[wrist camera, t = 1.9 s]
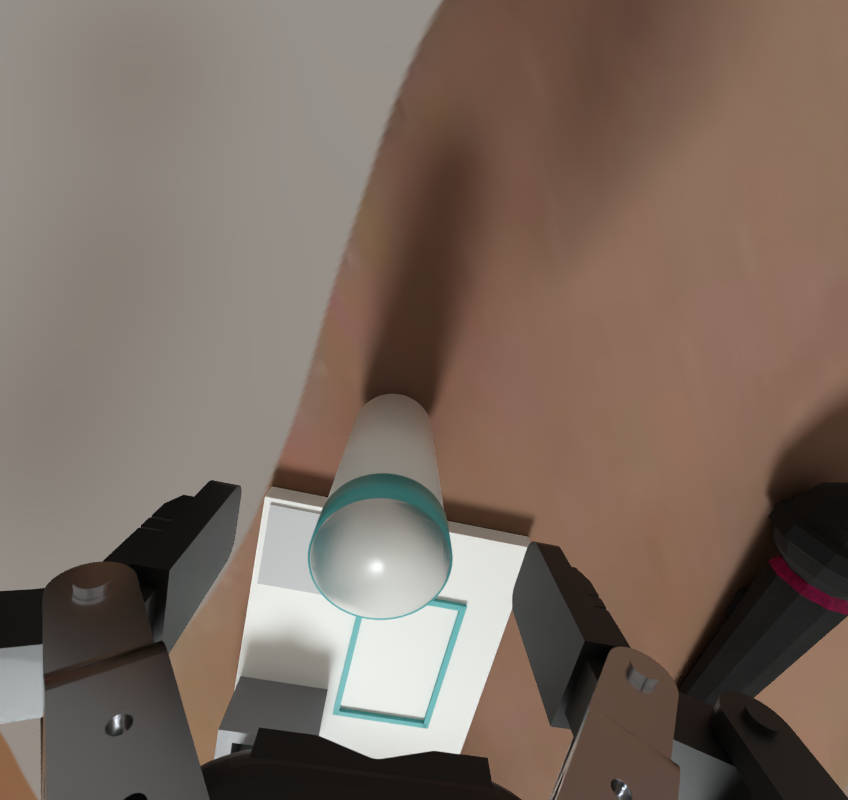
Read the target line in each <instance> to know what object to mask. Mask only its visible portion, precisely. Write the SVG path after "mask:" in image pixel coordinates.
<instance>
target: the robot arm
mask: <svg viewBox="0 0 848 800" xmlns="http://www.w3.org/2000/svg"><path fill="white" fill-rule="evenodd" d="M240 499H241V486H239V485H234V484H229V483H223V482H218V481H213V480H211V481H209V482H208V483H207V484H206V485H205V486H204V487H203V488H202V489H201V490H200V491H199V492H198V493H197V494H196V496H195V497H192V496H187V495H182V496H180V497H178V498H176V499H173V500H171V501H169V502H167V503H164V504H163V505H162V506H161V507H160V508H159V509H158V510H157V511H156V512H155V513H154V514H153V515H152V517H151V518H149V519H147V520H146V521H145V522H144V523H143V524H142V525H141V528H138V529H137V530H136V531H135V532H134V533H133V534H131V535H130V536H129V537H128V538H127V539H126V540H125V541H124V542H123V543H122V544H121V545H120V546H119V547H118V548H116V549H115V550H114V551H113V552H112V553H111V554H110V555H109V556H108V557H107V558H106V559H105V560H104V561H103V562H93V563H88V564H83V565H79V566H76V567H73V568H71V569H69V570H66V571H64V572H63V573H61V574H59V575H58V576H56V577H55V578H53V579H52V580H51V581H50V582H49V583H48V584H47V586H46V587H45V588H42V589H32V590H15V591H0V724H2V723H8V722H14V721H21V720H28V719H34V718H40V729H41V730H40V734H41V735H40V736H41V737H40V739H41V800H521V799H520V798H519V797H517V796H516V795H514V794H513V793H512V792H510V791H509V790H507V789H505V788H503V787H502V786H500V785H498V784H496V783H494V782H492V781H491V775H490V769H489V763H488V758H484V757H476V756H469V755H461V754H454V753H446V752H439V751H429V752H423V753H416V754H410V755H403V756H397V757H390V758H384V759H373V758H370V757H368V756H365V755H363V754H361V753H358V752H356V751H354V750H351V749H349V748H346V747H344V746H342V745H339V744H337V743H335V742H332V741H330V740H328V739H325V738H323V737H321V736H318V735H312V734H305V733H297V732H290V731H282V730H275V729H267V728H260V727H259V729H258V732H257V735H256V738H255V742H254V745H253V748H252V749H251V750H245V751H239V752H236V753H232V754H228V755H225V756H222V757H219V758H217V759H214V760H212V761H209V762H207V763H205V764H203V765H202V766H200V764H199V760H198V756H197V753H196V749H195V746H194V742H193V739H192V735H191V732H190V728H189V725H188V721H187V718H186V714H185V711H184V707H183V704H182V700H181V697H180V693H179V689H178V686H177V682H176V679H175V675H174V672H173V668H172V665H171V661H170V658H169V653H170V651H171V649H172V648H173V646H174V645H175V643H176V641H177V640H178V638H179V637H180V635H181V634H182V632H183V630H184V629H185V627H186V626H187V624H188V622H189V621H190V619H191V618H192V616H193V614H194V613H195V611H196V610H197V608H198V606H199V605H200V603H201V602H202V600H203V598H204V597H205V595H206V594H207V592H208V591H209V589H210V587H211V586H212V584H213V583H214V581H215V579H216V578H217V576H218V575H219V573H220V572H221V570H222V568H223V567H224V565H225V564H226V562H227V560H228V558H229V556H230V553H231V551H232V547H233V544H234V540H235V534H236V527H237V520H238V513H239V505H240ZM512 608H513V612H514V616H515V619H516V622H517V625H518V628H519V631H520V634H521V637H522V640H523V643H524V646H525V649H526V652H527V656H528V659H529V662H530V665H531V668H532V671H533V674H534V677H535V680H536V683H537V686H538V689H539V692H540V695H541V698H542V702H543V705H544V708H545V711H546V714H547V717H548V720H549V723H550V726H552V727H559V728H566V729H571V731H572V734H573V739H572V742H571V744H570V747H569V749H568V752H567V754H566V757H565V759H564V762H563V765H562V767H561V770H560V773H559V775H558V778H557V780H556V783H555V786H554V788H553V791H552V794H551V796H550V799H549V800H848V798H847V796H846V795H845V794H844V793H843V791H842V790H841V789H840V788H839V786H838V785H837V784H836V783H835V781H834V780H833V779H832V778H831V777H830V775H829V774H828V773H827V772H826V770H825V769H824V768H823V767H822V765H821V764H820V763H819V762H818V761H817V759H816V758H815V757H814V756H813V754H812V753H811V752H810V751H809V749H808V748H807V747H806V746H805V745H804V743H803V742H802V741H801V740H800V738H799V737H798V736H797V735H796V733H795V732H794V731H793V730H792V729H791V727H790V726H789V725H788V724H787V723H786V722H785V721H784V720H783V719H782V718H781V717H780V716H779V715H777V714H776V713H775V712H774V711H773V710H771V709H770V708H769V707H767V706H766V705H764V704H763V703H761V702H760V701H758V700H756V699H754V698H752V697H750V696H748V695H746V694H743V693H741V692H737V691H731V690H729V691H724V692H722V693H721V694H720V696H719V698H718V700H717V702H716V704H715V706H712V705H709V704H707V703H704V702H702V701H700V700H697V699H695V698H692V697H690V696H688V695H685V694H683V693H680V692H678V688H677V686H676V684H675V682H674V680H673V679H672V677H671V676H670V675H669V673H668V672H667V671H666V670H665V669H664V668H663V667H662V666H661V665H660V664H659V663H657V662H656V661H655V660H653V659H652V658H650V657H649V656H647V655H646V654H644V653H642V652H640V651H637V650H635V649H632V648H631V647H630V646H629V644H628V643H627V641H626V639H625V638H624V636H623V634H622V633H621V631H620V629H619V628H618V626H617V625H616V623H615V621H614V620H613V618H612V616H611V615H610V613H609V612H608V611H606V607H605V605H604V603H603V602H602V600H601V599H600V598H599V595H598V594H597V592H596V590H595V589H594V587H593V585H592V584H591V582H590V581H589V580H588V579H587V578H586V577H585V576H584V575H583V574H582V573H581V572H580V571H578V570H577V569H576V568H574V567H571V566H570V564H569V562H568V560H567V559H566V557H565V555H564V553H563V552H562V550H561V548H560V547H559V546H555V545H549V544H544V543H539V542H531V543H530V544H529V545H528V547H527V550H526V553H525V556H524V559H523V562H522V565H521V568H520V571H519V573H518V576H517V579H516V582H515V585H514V589H513V594H512Z"/></svg>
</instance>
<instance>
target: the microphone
mask: <svg viewBox="0 0 848 800" xmlns="http://www.w3.org/2000/svg"><path fill="white" fill-rule="evenodd" d="M769 518H770V520H771V521H772V522H773V523H774V525H775V526H774V541H775V543H776V545H777V547H778V549H779V552H780V554H781V555H780V556H774V557H772V558H771V559H770V560H769V561H768V562H767V563H766V565H765V566H764V568H763V569H762V571H761V572H760V573H759V575H758V576H757V578H756V579H755V581H754V582H753V583H752V585H751V586H750V588H749V589H743V590H740V591H739V592H738V594H737V595H736V597H735V598H734V599H733V601H732V602H731V604H730V605H729V607H728V610H727V612H728V613H729V614H730V616H729V618H728V619H727V621H726V622H725V623H724V625H723V626H722V628H721V629H720V630H719V632H718V633H717V635H716V636H715V638H714V639H713V640H712V642H711V643H710V645H709V646H708V648H707V649H706V650H705V652H704V653H703V655H702V656H701V658H700V659H699V660H698V662H697V663H696V665H695V666H694V668H693V669H692V670H691V672H690V673H689V675H688V676H687V678H686V679H685V680H684V682H683V683H682V685H681V686H680V687H679V689H678V692H680V693H683V694H685V695H688V696H690V697H692V698H695V699H697V700H700V701H702V702H704V703H707V704H709V705H712V706H715V704H716V702H717V700H718V698H719V696H720V694H721V693H722V692H724V691H729V690H731V691H737V692H741V693H743V694H746V695H748V696H750V697H752V698H754V697H755V696H756V695H757V694H759V693H760V692H761V691H762V690H763V689H764V688H765V687H767V686H768V685H769V684H770V683H771V682H772V681H774V680H775V679H776V678H777V677H778V676H779V675H780V674H782V673H783V672H784V671H785V670H786V669H787V668H788V667H790V666H791V665H792V664H793V663H794V662H795V661H796V660H798V659H799V658H800V657H801V656H802V655H803V654H805V653H806V652H807V651H808V650H809V649H810V648H811V647H813V646H814V645H815V644H816V643H817V642H818V641H819V640H821V639H822V638H823V637H824V636H825V635H826V634H827V633H829V632H830V631H831V630H832V629H833V628H834V627H836V626H837V625H838V624H839V623H840V622H841V621H842V620H844V619H845V618H846V617H847V616H848V483H821V484H819V485H817V486H815V487H813V488H811V489H809V490H807V491H806V492H804V493H802V494H801V495H799V496H798V497H797V498H795V499H794V500H791V499H785V500H783V501H781V502H780V503H778V504H777V505H776V506H775V508H774V509H773V511H772V512H771V514H770V515H769ZM737 604H738V605H737ZM736 605H737V606H736ZM735 607H736V608H735Z"/></svg>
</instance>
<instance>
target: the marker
mask: <svg viewBox="0 0 848 800" xmlns="http://www.w3.org/2000/svg"><path fill="white" fill-rule="evenodd" d="M452 561H453V556H452V547H451V540H450V534H449V528H448V522H447V517H446V514H445V512H444V507H443V500H442V494H441V487H440V480H439V474H438V467H437V460H436V454H435V447H434V440H433V434H432V427H431V422H430V419H429V416H428V414H427V412H426V411H425V409H424V408H423V407H422V406H421V405H420V404H419V403H418V402H417V401H415V400H413V399H412V398H410V397H407V396H404V395H400V394H385V395H380V396H378V397H375V398H373V399H372V400H370V401H369V402H367V403H366V404H365V405H364V406H363V407H362V408H361V410H360V411H359V413H358V415H357V417H356V420H355V422H354V425H353V428H352V431H351V434H350V437H349V439H348V442H347V445H346V448H345V451H344V454H343V456H342V459H341V462H340V465H339V468H338V471H337V473H336V476H335V479H334V482H333V485H332V488H331V490H330V493H329V496H328V499H327V501H326V503H325V505H324V506H323V509H322V511H321V513H320V516H319V519H318V521H317V524H316V527H315V530H314V532H313V535H312V538H311V541H310V545H309V549H308V567H309V572H310V575H311V578H312V580H313V582H314V584H315V586H316V588H317V589H318V590H319V592H320V593H321V594H322V595H323V596H324V598H325V599H326V600H327V601H329V602H330V603H331V604H332V605H334V606H335V607H337V608H338V609H340V610H342V611H344V612H346V613H348V614H350V615H353V616H356V617H360V618H364V619H372V620H389V619H396V618H401V617H404V616H407V615H410V614H413V613H415V612H417V611H419V610H421V609H422V608H424V607H426V606H427V605H428V604H429V603H431V602H432V601H433V600H434V599H435V598H436V597H437V596H438V595H439V594H440V592H441V591H442V590H443V588H444V587H445V585H446V583H447V581H448V579H449V576H450V573H451V569H452Z"/></svg>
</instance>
